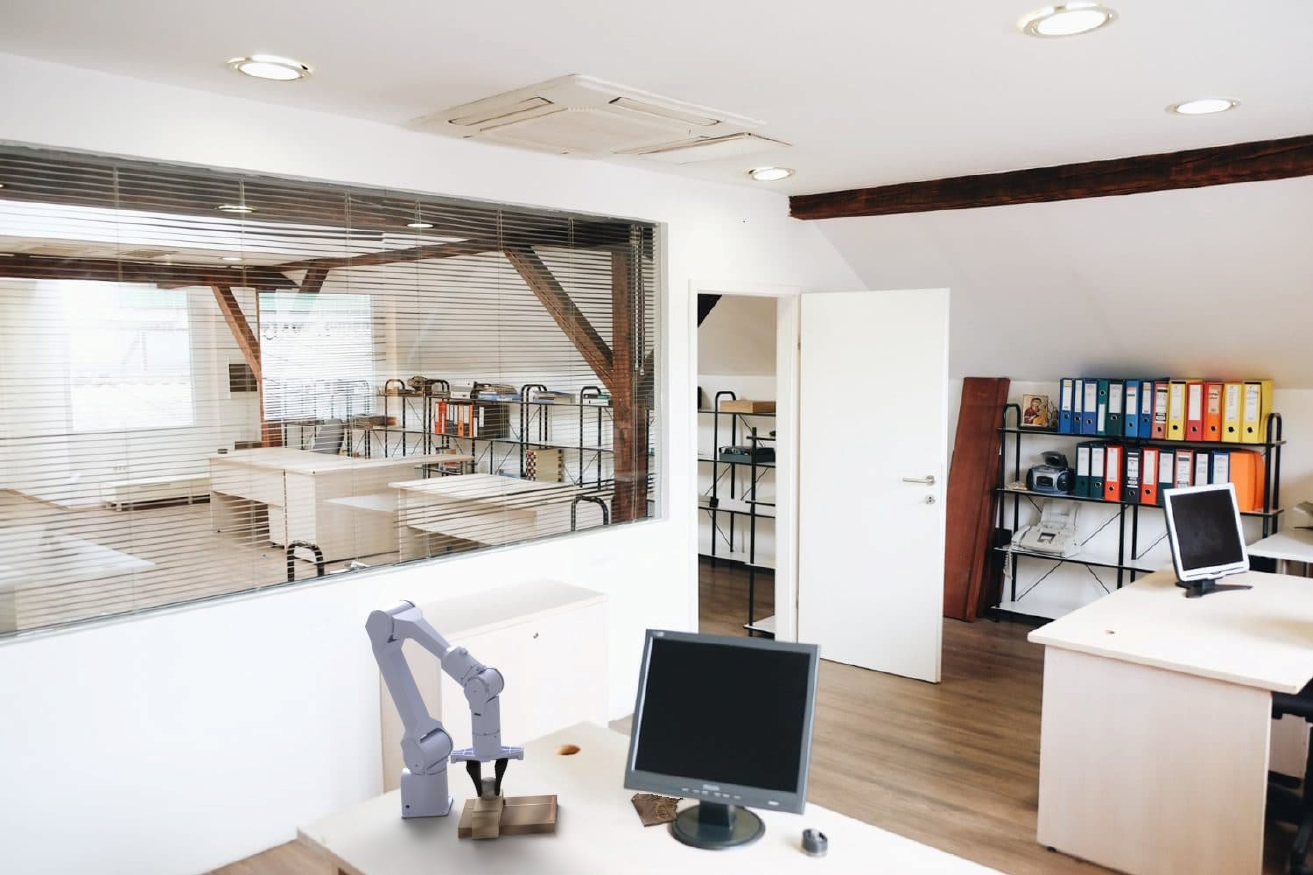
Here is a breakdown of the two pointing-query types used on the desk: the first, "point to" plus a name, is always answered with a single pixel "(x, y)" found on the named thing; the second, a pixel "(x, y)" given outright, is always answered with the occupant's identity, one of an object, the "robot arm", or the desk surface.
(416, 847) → the desk surface
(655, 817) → the wooden fragment
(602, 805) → the desk surface
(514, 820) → the board
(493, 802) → the beige block with knob
